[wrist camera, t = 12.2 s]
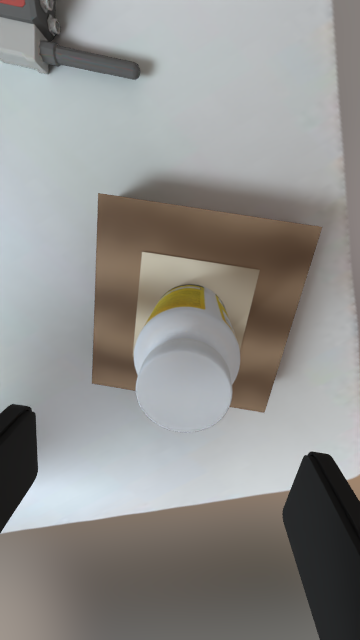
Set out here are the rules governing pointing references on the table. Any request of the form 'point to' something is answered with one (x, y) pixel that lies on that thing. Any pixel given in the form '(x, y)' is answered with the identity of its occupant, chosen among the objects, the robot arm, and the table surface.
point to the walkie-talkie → (47, 41)
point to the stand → (197, 283)
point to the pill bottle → (186, 360)
